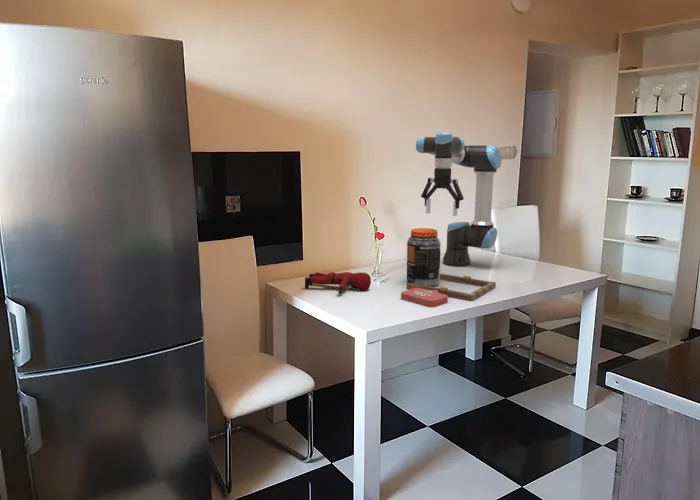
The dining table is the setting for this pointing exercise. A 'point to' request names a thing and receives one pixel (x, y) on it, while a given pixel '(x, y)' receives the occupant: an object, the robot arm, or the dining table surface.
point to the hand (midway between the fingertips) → (441, 214)
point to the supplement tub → (423, 257)
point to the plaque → (424, 297)
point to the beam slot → (485, 285)
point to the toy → (340, 280)
